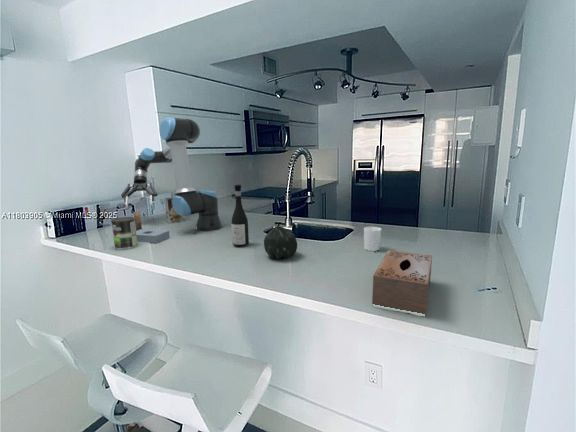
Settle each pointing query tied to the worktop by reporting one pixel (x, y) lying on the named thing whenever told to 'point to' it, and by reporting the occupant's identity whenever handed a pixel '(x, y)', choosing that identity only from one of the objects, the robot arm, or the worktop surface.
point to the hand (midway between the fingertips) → (139, 205)
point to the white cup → (372, 238)
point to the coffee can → (124, 233)
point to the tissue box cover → (403, 281)
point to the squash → (280, 243)
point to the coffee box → (171, 212)
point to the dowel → (137, 220)
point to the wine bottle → (239, 222)
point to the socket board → (152, 235)
